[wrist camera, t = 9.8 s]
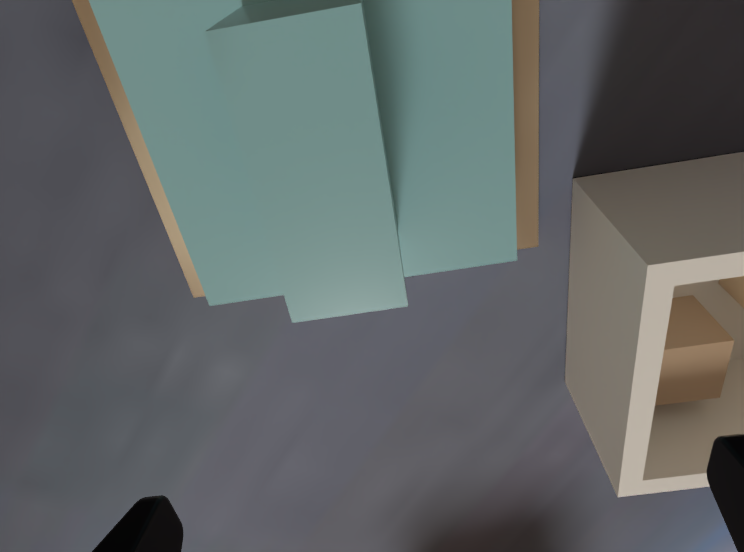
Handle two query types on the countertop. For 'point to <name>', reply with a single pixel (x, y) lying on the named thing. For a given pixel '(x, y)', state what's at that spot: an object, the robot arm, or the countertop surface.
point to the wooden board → (524, 127)
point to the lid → (325, 140)
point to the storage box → (658, 318)
